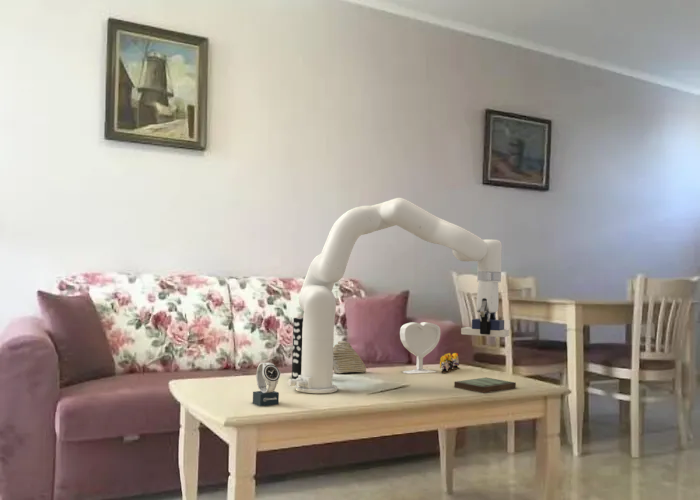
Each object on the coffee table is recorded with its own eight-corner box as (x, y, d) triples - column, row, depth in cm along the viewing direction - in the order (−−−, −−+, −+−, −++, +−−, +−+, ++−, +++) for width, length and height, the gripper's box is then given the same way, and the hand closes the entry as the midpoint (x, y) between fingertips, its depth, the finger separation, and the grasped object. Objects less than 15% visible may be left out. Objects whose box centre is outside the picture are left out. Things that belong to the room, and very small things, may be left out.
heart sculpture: (404, 373, 242) (406, 323, 243) (397, 371, 246) (398, 322, 247) (441, 371, 249) (442, 322, 250) (433, 369, 253) (434, 321, 254)
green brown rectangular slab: (484, 393, 207) (484, 386, 207) (454, 387, 217) (454, 380, 217) (515, 388, 218) (515, 381, 218) (486, 382, 227) (486, 376, 227)
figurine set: (436, 372, 246) (436, 354, 246) (452, 367, 260) (452, 350, 261) (445, 373, 245) (445, 355, 245) (461, 368, 259) (461, 351, 259)
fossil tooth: (367, 376, 241) (328, 374, 235) (360, 373, 247) (322, 370, 241) (371, 344, 241) (332, 341, 235) (364, 342, 247) (326, 338, 241)
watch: (263, 407, 177) (265, 365, 178) (249, 402, 184) (250, 361, 184) (282, 405, 181) (283, 364, 181) (267, 400, 187) (269, 360, 188)
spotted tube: (315, 380, 222) (317, 319, 223) (290, 379, 222) (292, 319, 223) (317, 376, 231) (319, 317, 231) (293, 375, 231) (294, 317, 231)
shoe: (508, 335, 218) (509, 320, 218) (504, 337, 213) (504, 321, 213) (466, 332, 225) (467, 317, 225) (461, 334, 219) (461, 318, 219)
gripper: (485, 277, 228) (483, 330, 228) (470, 277, 213) (468, 334, 212) (507, 278, 225) (506, 332, 224) (493, 277, 209) (492, 336, 209)
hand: (487, 332), depth 218 cm, fingers closed on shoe, 6 cm apart
